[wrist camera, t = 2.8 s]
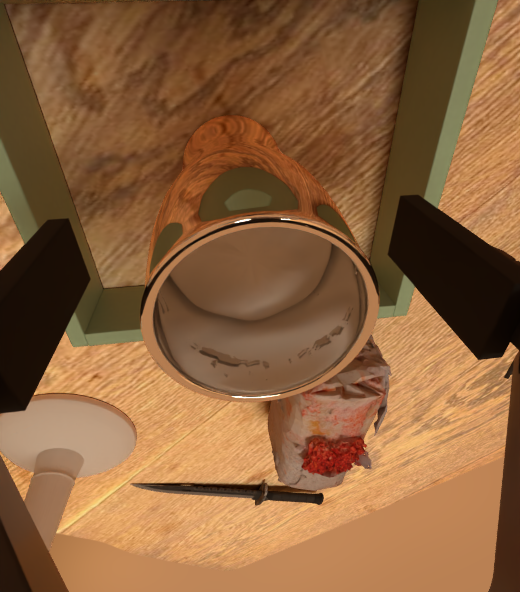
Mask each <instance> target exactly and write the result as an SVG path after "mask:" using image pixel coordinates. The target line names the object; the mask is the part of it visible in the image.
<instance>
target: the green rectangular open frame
mask: <svg viewBox="0 0 520 592" xmlns="http://www.w3.org/2000/svg"><path fill="white" fill-rule="evenodd" d="M150 1H210V0H0V192H1V194H2V196H3V198H4V200H5V202H6V205H7V207H8V209H9V211H10V213H11V215H12V217H13V220H14V222H15V224H16V226H17V228H18V230H19V232H20V235H21V237H22V239H23V241H24V243H25V244H26V243H27V241H28V240H29V239H30V238H31V237H32V236H33V235H34V234H35V233H36V232H37V231H38V229H39V228H40V227H41V226H42V225H43V224H44V223H45V222H46V221H47V220H49V219H64V218H69V220H70V223H71V226H72V229H73V231H74V234H75V237H76V240H77V242H78V245H79V248H80V251H81V253H82V256H83V259H84V262H85V264H86V267H87V270H88V273H89V275H90V278H91V280H90V282H89V284H88V286H87V288H86V290H85V292H84V294H83V296H82V298H81V300H80V302H79V304H78V306H77V308H76V310H75V312H74V314H73V316H72V318H71V320H70V322H69V324H68V326H67V328H66V330H65V331H66V333H67V335H68V337H69V340H70V342H71V344H72V346H73V347H80V346H88V345H89V346H94V345H104V344H115V343H125V342H136V341H144V340H143V336H142V332H141V327H140V306H141V300H142V296H143V293H144V289H145V286H133V287H121V288H109V289H104V290H103V287H102V284H101V281H100V278H99V276H98V273H97V270H96V267H95V264H94V261H93V258H92V256H91V253H90V250H89V247H88V244H87V241H86V238H85V235H84V233H83V230H82V227H81V224H80V221H79V218H78V215H77V213H76V210H75V207H74V204H73V201H72V198H71V195H70V193H69V190H68V187H67V184H66V181H65V178H64V175H63V172H62V170H61V167H60V164H59V161H58V158H57V155H56V152H55V150H54V147H53V144H52V141H51V138H50V135H49V132H48V129H47V127H46V124H45V121H44V118H43V115H42V112H41V109H40V107H39V104H38V101H37V98H36V95H35V92H34V89H33V87H32V84H31V81H30V78H29V75H28V72H27V69H26V66H25V64H24V61H23V58H22V55H21V52H20V49H19V46H18V44H17V41H16V38H15V35H14V32H13V29H12V26H11V23H10V21H9V18H8V15H7V12H6V9H5V6H4V4H32V3H91V2H150ZM497 2H498V0H419V1H418V7H417V12H416V17H415V23H414V28H413V33H412V39H411V44H410V49H409V54H408V60H407V65H406V70H405V76H404V81H403V86H402V92H401V97H400V102H399V108H398V113H397V118H396V124H395V129H394V134H393V140H392V145H391V150H390V155H389V161H388V166H387V171H386V177H385V182H384V187H383V193H382V198H381V203H380V209H379V214H378V219H377V225H376V230H375V235H374V241H373V246H372V251H371V256H370V263H371V265H372V267H373V269H374V272H375V274H376V277H377V281H378V286H379V294H380V302H379V311H378V316H377V318H387V317H396V316H406V315H407V312H408V309H409V305H410V302H411V298H412V295H413V292H414V288H415V286H414V285H413V284H412V283H411V281H410V280H409V279H408V278H407V277H406V276H405V274H404V273H403V272H402V271H401V270H400V269H399V268H398V266H397V265H396V264H395V263H394V262H393V261H392V259H391V258H390V257H389V256H388V255H387V254H388V250H389V245H390V241H391V236H392V231H393V227H394V222H395V217H396V213H397V208H398V203H399V199H400V196H404V195H419V196H421V197H422V198H424V199H425V200H426V201H428V202H429V203H431V204H432V205H434V206H435V207H436V208H438V205H439V202H440V199H441V195H442V192H443V188H444V185H445V181H446V178H447V175H448V171H449V168H450V164H451V161H452V157H453V154H454V150H455V147H456V144H457V140H458V137H459V133H460V130H461V126H462V123H463V119H464V116H465V113H466V109H467V106H468V102H469V99H470V95H471V92H472V88H473V85H474V82H475V78H476V75H477V71H478V68H479V64H480V61H481V58H482V54H483V51H484V47H485V44H486V40H487V37H488V33H489V30H490V27H491V23H492V20H493V16H494V13H495V9H496V6H497Z"/></svg>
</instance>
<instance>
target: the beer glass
mask: <svg viewBox="0 0 520 592" xmlns="http://www.w3.org/2000/svg"><path fill="white" fill-rule="evenodd" d="M379 302H380V294H379V286H378V281H377V277H376V274H375V272H374V269H373V267H372V265H371V263H370V261H369V259H368V258H367V256H366V255H365V254H364V252H363V251H362V250H361V249H360V247H359V245H358V243H357V241H356V239H355V237H354V235H353V233H352V231H351V229H350V228H349V226H348V224H347V222H346V221H345V219H344V217H343V215H342V214H341V212H340V210H339V209H338V207H337V206H336V204H335V203H334V201H333V200H332V199H331V197H330V196H329V194H328V193H327V191H326V190H325V189H324V188H323V186H322V185H321V184H320V183H319V182H318V181H317V180H316V179H315V178H314V177H313V176H312V175H311V174H310V173H309V172H308V171H307V170H306V169H305V168H304V167H303V166H302V165H300V164H299V163H298V162H296V161H295V160H293V159H291V158H290V157H288V156H287V155H285V154H283V153H281V152H280V151H279V148H278V146H277V144H276V142H275V140H274V138H273V137H272V136H271V134H270V133H269V132H268V131H267V130H266V129H265V128H264V127H263V126H262V125H261V124H259V123H258V122H256V121H254V120H252V119H250V118H247V117H244V116H238V115H225V116H220V117H216V118H214V119H211V120H209V121H208V122H206V123H204V124H203V125H202V126H200V127H199V128H198V129H197V130H196V131H195V132H194V134H193V135H192V136H191V138H190V139H189V141H188V143H187V145H186V148H185V151H184V156H183V171H182V172H181V173H180V174H179V176H178V177H177V178H176V180H175V181H174V183H173V184H172V185H171V187H170V188H169V190H168V192H167V193H166V195H165V197H164V200H163V202H162V205H161V207H160V210H159V213H158V215H157V218H156V221H155V224H154V228H153V232H152V237H151V241H150V246H149V252H148V260H147V268H146V277H145V289H144V293H143V296H142V300H141V306H140V327H141V332H142V336H143V340H144V343H145V345H146V347H147V349H148V351H149V353H150V355H151V357H152V358H153V360H154V361H155V362H156V363H157V365H158V366H159V367H160V368H161V369H162V370H163V371H164V372H165V373H166V374H167V375H168V376H169V377H171V378H172V379H173V380H175V381H176V382H177V383H179V384H181V385H182V386H184V387H186V388H188V389H190V390H192V391H194V392H196V393H199V394H201V395H204V396H208V397H211V398H215V399H220V400H225V401H233V402H263V401H271V400H277V399H282V398H286V397H290V396H293V395H296V394H299V393H302V392H305V391H307V390H309V389H312V388H314V387H316V386H318V385H320V384H322V383H323V382H325V381H327V380H329V379H330V378H332V377H333V376H335V375H336V374H337V373H339V372H340V371H341V370H342V369H344V368H345V367H346V366H347V365H348V364H349V363H350V362H351V361H352V360H353V359H354V358H355V357H356V356H357V355H358V353H359V352H360V351H361V350H362V348H363V347H364V345H365V344H366V342H367V341H368V339H369V337H370V335H371V333H372V331H373V329H374V326H375V323H376V320H377V316H378V311H379Z"/></svg>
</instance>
